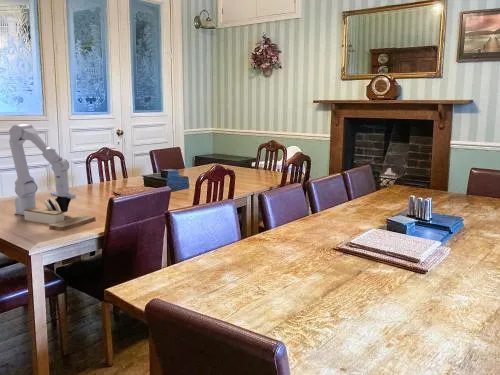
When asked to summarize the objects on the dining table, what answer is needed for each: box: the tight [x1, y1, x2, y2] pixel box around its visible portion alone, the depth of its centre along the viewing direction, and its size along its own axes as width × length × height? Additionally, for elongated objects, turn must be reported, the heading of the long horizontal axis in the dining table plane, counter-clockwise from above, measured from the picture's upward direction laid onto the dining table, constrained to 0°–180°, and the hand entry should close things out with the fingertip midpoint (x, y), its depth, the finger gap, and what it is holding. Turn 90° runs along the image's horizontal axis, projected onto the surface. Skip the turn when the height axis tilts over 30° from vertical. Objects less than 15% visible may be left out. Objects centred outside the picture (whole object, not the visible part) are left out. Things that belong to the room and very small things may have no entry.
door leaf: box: [48, 214, 96, 231], centre depth 214 cm, size 8×20×2 cm, turn 155°
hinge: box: [43, 197, 67, 220], centre depth 226 cm, size 17×5×10 cm, turn 31°
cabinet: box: [23, 207, 65, 225], centre depth 218 cm, size 20×5×5 cm, turn 65°
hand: (64, 211), depth 229 cm, fingers closed
